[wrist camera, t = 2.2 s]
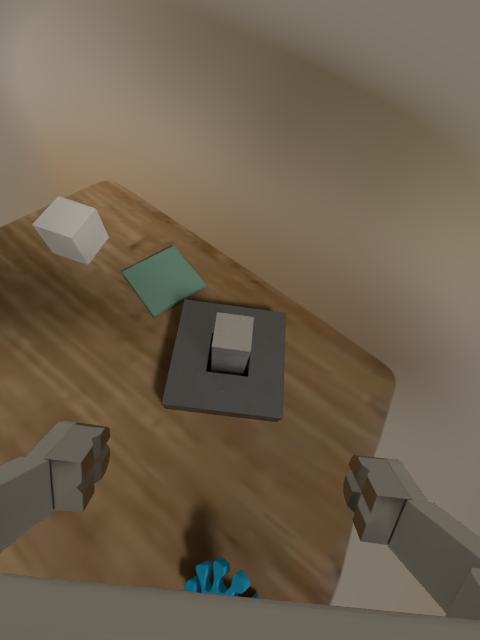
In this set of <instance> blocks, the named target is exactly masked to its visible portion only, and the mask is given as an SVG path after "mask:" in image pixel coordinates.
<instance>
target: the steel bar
mask: <svg viewBox="0 0 480 640" xmlns="http://www.w3.org/2000/svg"><path fill="white" fill-rule="evenodd" d="M253 322H254V317H249V316H242V315H234V314H227V313H219V312H217V316H216V322H215V329H214V335H213V342H212V365H211V372H214V373H222V374H230V375H238V376H242V375H243V372H244V370H245V367H246V364H247V361H248V358H249V355H250V353H251V344H252V333H253Z"/></svg>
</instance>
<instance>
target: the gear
mask: <svg viewBox="0 0 480 640" xmlns="http://www.w3.org/2000/svg"><path fill="white" fill-rule="evenodd" d="M213 570H214V582H213V586H212V585H211V583H210V575H211V572H212V565H211V562H210V561H204V562H202V563H200V564H198V565H197V566H196V572H197V575H198V577H199V578H198V577H197V576H195V577H193V578H191V579H190V580H188V581H187V583H186V585H185V591H187V592H197V593H201V592H202V593H207V594H218V595H228V596H238V595H237V593H239V594H242V593H243V592H244V591H245V590H247V589H248V588H249V587H250V581H249V579H248V577H247V575H246V574H245V572H244V571H243V570H241V571H239V572H238V573H237V574H235V575H234V576H233V579H232V584H231V586H230V588H229V589H228V588H226V587H225V585H224V583H223V577H224V575H225V574H227V573H228V572H229V570H230V564H229V562H228V561H227V560H225V559H224V558H222V557H220V558H218V559H216V560H215V561H214V563H213ZM199 580H200V581H199ZM200 584H201V592H200ZM251 598H258V599H261V598H260V596H259V595H258V594H254V595H253V596H252V597H251Z"/></svg>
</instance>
